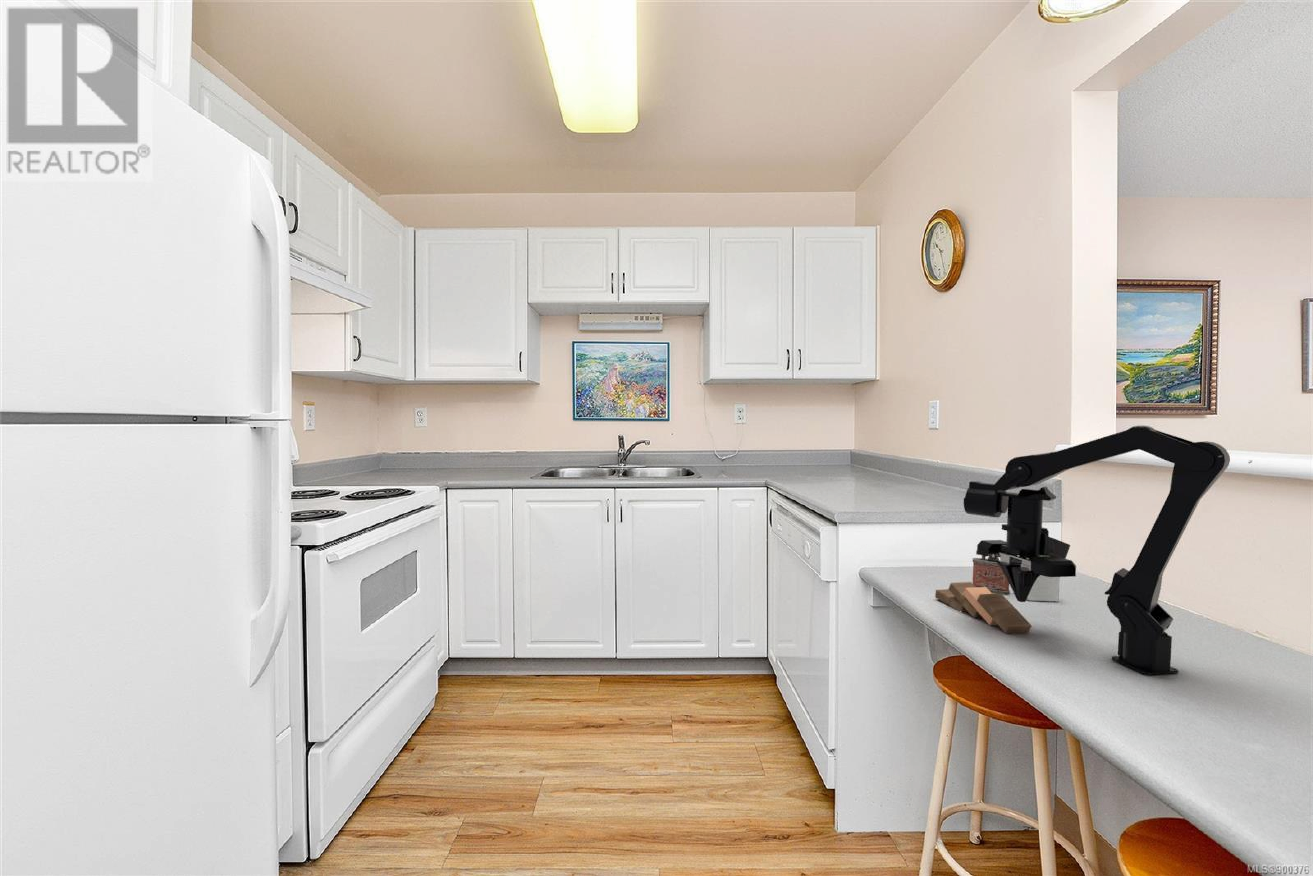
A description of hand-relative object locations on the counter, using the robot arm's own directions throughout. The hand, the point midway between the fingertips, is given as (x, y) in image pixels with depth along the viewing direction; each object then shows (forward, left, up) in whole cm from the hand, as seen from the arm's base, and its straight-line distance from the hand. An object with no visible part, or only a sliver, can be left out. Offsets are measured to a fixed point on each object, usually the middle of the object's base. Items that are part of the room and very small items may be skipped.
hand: (1021, 601), depth 115 cm
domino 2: (+9, 0, -6) cm, 11 cm away
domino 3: (+5, 0, -6) cm, 7 cm away
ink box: (+20, -22, -7) cm, 31 cm away
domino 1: (+13, 0, -6) cm, 15 cm away
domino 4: (0, 0, -6) cm, 6 cm away
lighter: (+27, -15, -7) cm, 32 cm away
